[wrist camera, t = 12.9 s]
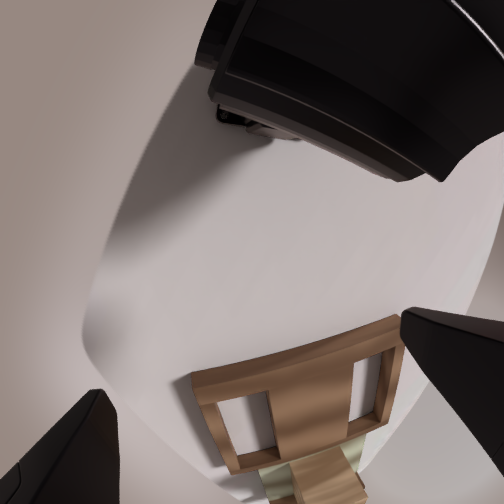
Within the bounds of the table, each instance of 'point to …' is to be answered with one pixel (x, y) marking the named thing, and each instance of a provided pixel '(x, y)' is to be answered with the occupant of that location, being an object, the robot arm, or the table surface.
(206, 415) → the brown wooden flat frame
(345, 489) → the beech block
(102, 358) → the table surface
